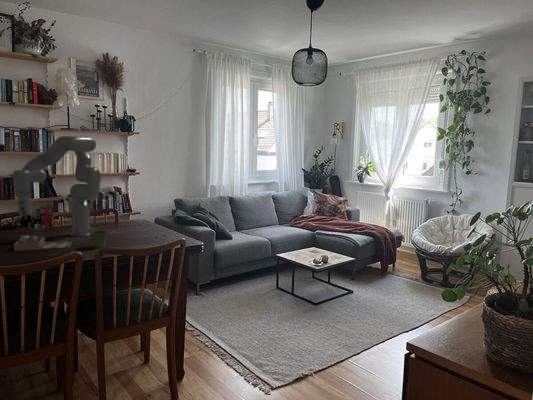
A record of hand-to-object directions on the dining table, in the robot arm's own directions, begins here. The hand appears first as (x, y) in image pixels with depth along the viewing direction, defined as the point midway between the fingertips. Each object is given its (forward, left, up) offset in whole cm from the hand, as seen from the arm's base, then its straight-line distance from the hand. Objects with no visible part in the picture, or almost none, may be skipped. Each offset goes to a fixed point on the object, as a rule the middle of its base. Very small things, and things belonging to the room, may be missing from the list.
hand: (26, 224), depth 216 cm
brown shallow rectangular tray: (-2, +2, -12) cm, 12 cm away
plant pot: (-36, +9, -12) cm, 39 cm away
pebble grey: (+1, +1, -12) cm, 12 cm away
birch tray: (-15, +2, -12) cm, 19 cm away
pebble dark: (-3, +3, -12) cm, 12 cm away
